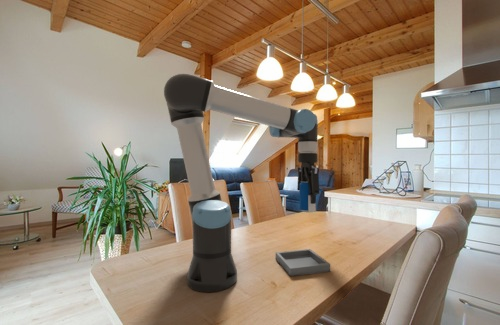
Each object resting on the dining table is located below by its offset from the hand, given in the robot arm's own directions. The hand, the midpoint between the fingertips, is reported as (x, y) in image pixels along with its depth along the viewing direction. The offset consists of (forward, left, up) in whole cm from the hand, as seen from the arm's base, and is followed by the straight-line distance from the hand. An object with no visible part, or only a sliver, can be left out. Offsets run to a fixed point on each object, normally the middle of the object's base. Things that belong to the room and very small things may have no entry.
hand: (307, 209), depth 96 cm
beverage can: (0, 0, -1) cm, 1 cm away
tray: (-8, -11, -17) cm, 22 cm away
